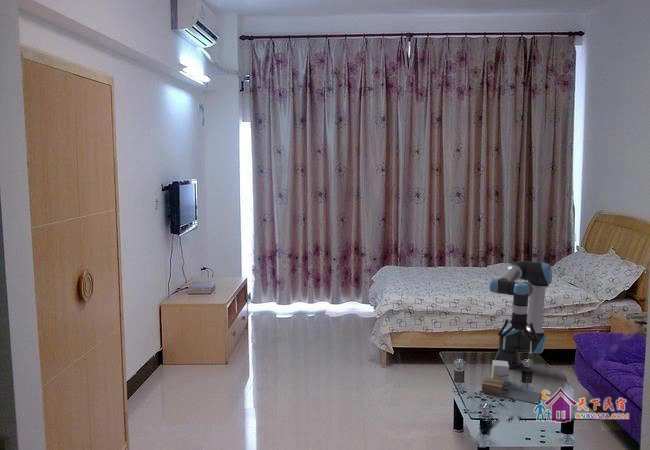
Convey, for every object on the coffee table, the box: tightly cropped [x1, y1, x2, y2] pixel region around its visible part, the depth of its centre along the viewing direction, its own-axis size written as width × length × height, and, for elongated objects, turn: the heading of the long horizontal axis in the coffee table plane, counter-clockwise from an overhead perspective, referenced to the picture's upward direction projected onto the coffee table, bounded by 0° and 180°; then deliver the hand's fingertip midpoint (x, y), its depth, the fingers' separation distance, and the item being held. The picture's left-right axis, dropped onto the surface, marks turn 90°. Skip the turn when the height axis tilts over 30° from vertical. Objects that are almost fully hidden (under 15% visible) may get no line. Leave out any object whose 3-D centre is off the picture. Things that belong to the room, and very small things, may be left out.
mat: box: [503, 386, 542, 404], centre depth 312 cm, size 14×17×1 cm
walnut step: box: [481, 376, 505, 397], centre depth 317 cm, size 10×10×5 cm
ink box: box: [490, 359, 510, 387], centre depth 327 cm, size 8×8×12 cm
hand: (517, 351), depth 307 cm, fingers open, 13 cm apart
